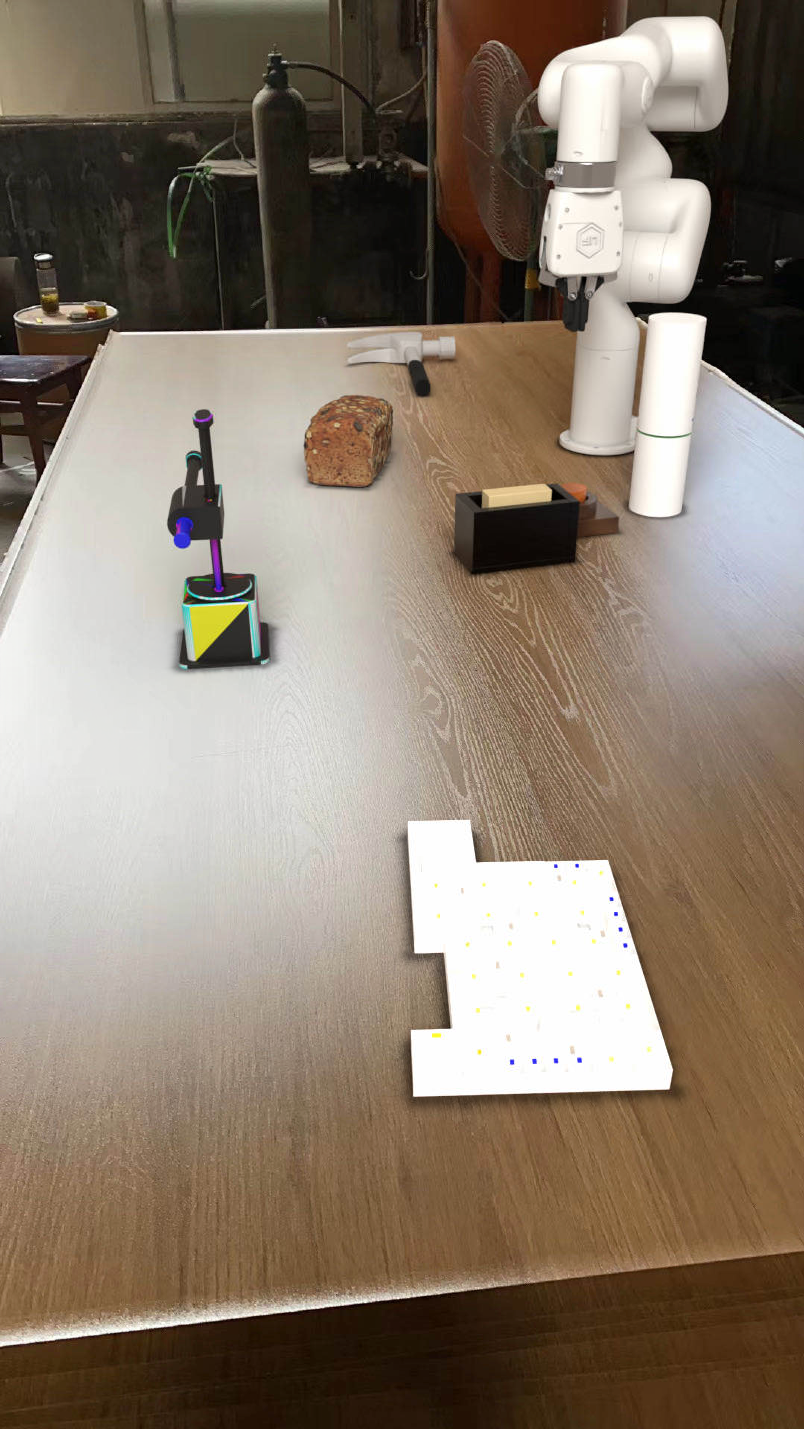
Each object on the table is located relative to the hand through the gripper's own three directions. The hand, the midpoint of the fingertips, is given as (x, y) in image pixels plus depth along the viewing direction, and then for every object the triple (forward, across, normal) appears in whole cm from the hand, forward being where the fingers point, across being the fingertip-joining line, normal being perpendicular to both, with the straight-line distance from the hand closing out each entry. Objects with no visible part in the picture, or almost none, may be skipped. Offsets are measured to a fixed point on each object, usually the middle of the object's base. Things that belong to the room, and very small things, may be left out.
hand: (574, 329), depth 146 cm
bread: (+22, -27, +18) cm, 39 cm away
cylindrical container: (+22, +9, -11) cm, 26 cm away
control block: (+22, -5, -14) cm, 27 cm away
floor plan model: (+22, -41, -87) cm, 99 cm away
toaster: (+22, -16, -22) cm, 35 cm away
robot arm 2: (+22, -53, -31) cm, 65 cm away
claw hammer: (+22, -3, +70) cm, 74 cm away
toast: (+21, -16, -22) cm, 35 cm away
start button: (+18, -5, -14) cm, 24 cm away
